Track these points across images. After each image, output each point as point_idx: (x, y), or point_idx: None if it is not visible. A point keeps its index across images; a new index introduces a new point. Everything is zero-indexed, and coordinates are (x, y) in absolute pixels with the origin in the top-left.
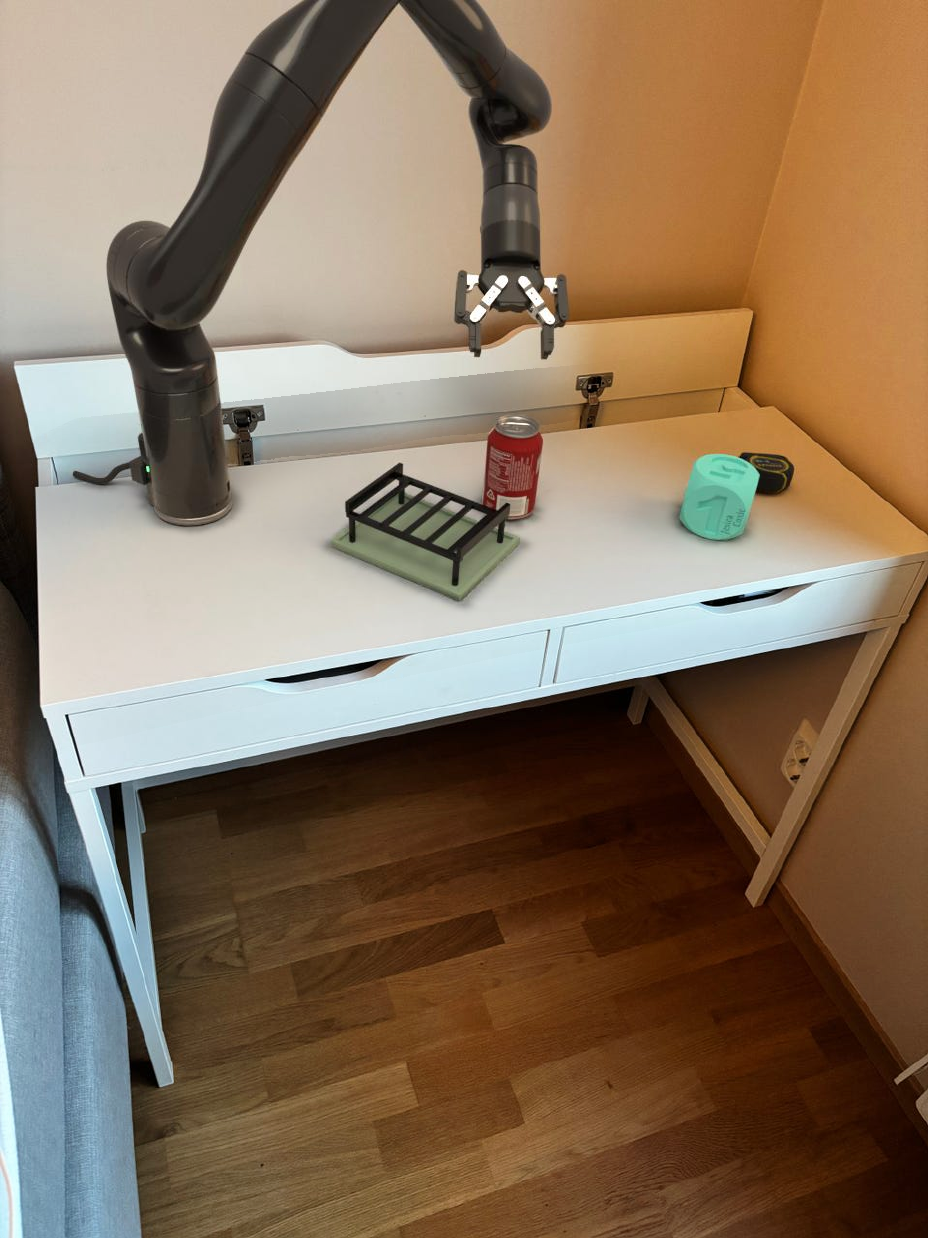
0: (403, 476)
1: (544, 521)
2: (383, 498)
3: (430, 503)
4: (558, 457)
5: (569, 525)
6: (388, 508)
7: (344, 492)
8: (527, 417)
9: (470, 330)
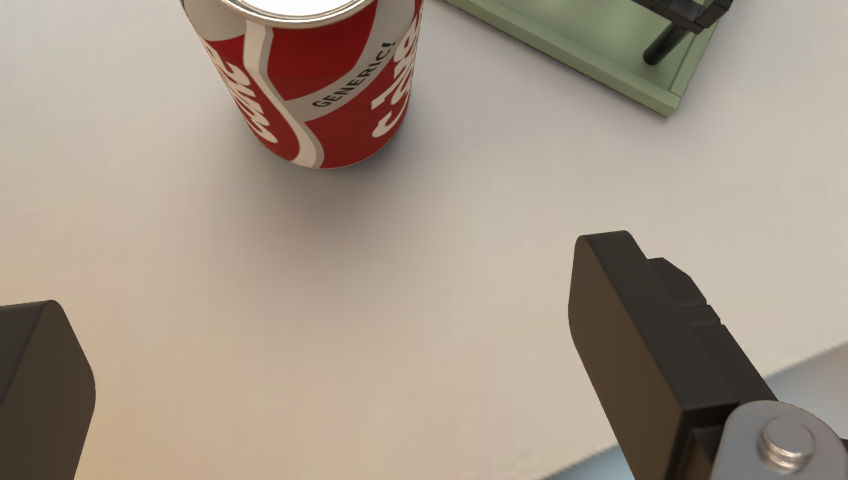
0: (689, 9)
1: None
2: None
3: (567, 47)
4: (136, 462)
5: (131, 30)
6: None
7: (821, 119)
8: (238, 7)
9: (744, 363)
